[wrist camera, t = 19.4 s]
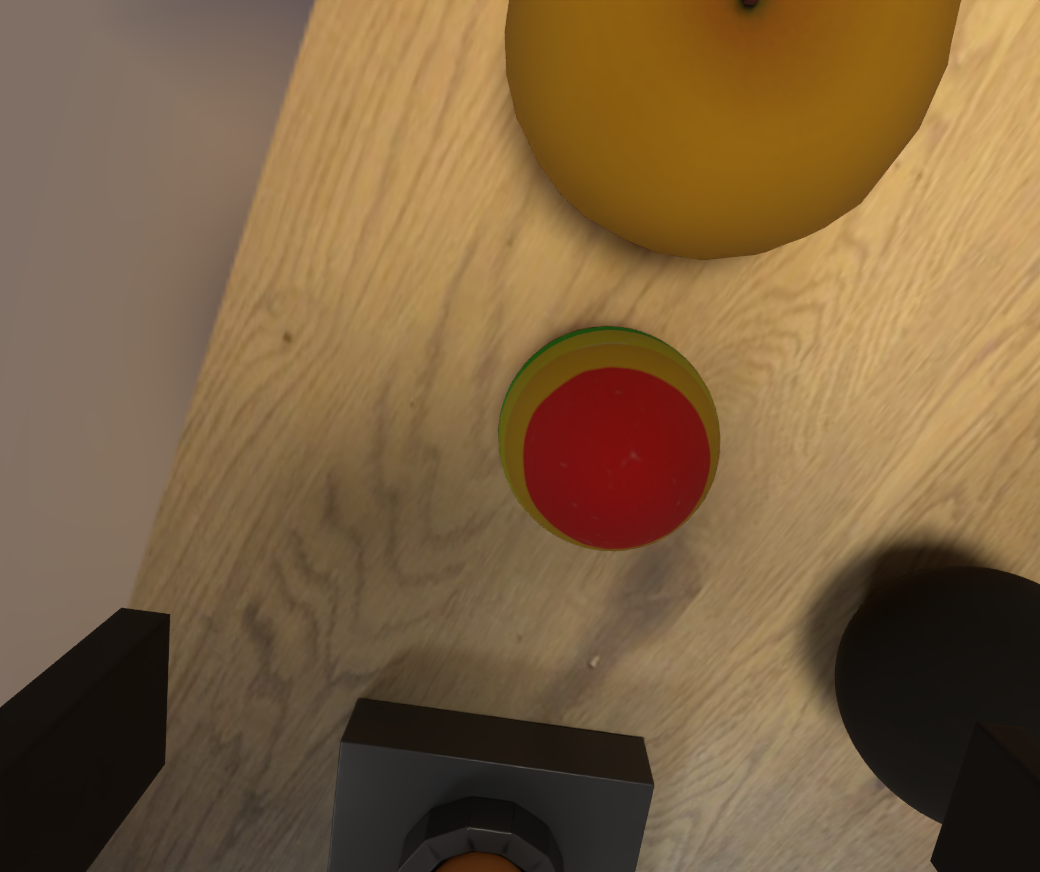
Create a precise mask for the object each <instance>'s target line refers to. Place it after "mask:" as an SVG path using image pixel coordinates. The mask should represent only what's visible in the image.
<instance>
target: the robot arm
mask: <svg viewBox="0 0 1040 872" xmlns="http://www.w3.org/2000/svg"><path fill="white" fill-rule="evenodd" d="M169 631H170V614H165V613H157V612H150V611H142V610H134V609H127V608H121V609H119V610H118V611H117V612H116V613H114V614H113V615H112V616H111V617H110V618H108V619H107V620H106V621H105V622H104V623H102V624H101V625H100V626H99V627H97V628H96V629H95V630H94V631H93V632H91V633H90V634H89V635H88V636H86V637H85V638H84V639H83V640H82V641H80V642H79V643H78V644H77V645H76V646H74V647H73V648H72V649H71V650H69V651H68V652H67V653H66V654H65V655H63V656H62V657H61V658H60V659H59V660H58V661H56V662H55V663H54V664H52V665H51V666H50V667H49V668H48V669H46V670H45V671H44V672H43V673H42V674H40V675H39V676H38V677H37V678H35V679H34V680H33V681H32V682H31V683H29V684H28V685H27V686H26V687H25V688H23V689H22V690H21V691H20V692H19V693H17V694H16V695H15V696H14V697H12V698H11V699H10V700H9V701H8V702H6V703H5V704H4V705H3V706H1V707H0V872H86V871H87V869H88V868H89V867H90V865H91V864H92V863H93V861H94V860H95V859H96V857H97V856H98V854H99V853H100V852H101V850H102V849H103V848H104V846H105V845H106V844H107V842H108V841H109V840H110V838H111V837H112V835H113V834H114V833H115V831H116V830H117V829H118V827H119V826H120V825H121V823H122V822H123V821H124V819H125V818H126V816H127V815H128V814H129V812H130V811H131V810H132V808H133V807H134V806H135V804H136V803H137V801H138V800H139V799H140V797H141V796H142V795H143V793H144V792H145V791H146V789H147V788H148V787H149V785H150V784H151V782H152V781H153V780H154V778H155V777H156V776H157V774H158V773H159V772H160V770H161V769H162V767H163V766H164V765H165V750H166V720H167V691H168V661H169ZM930 861H931V863H932V864H933V866H934V867H935V868H936V870H937V871H938V872H1040V743H1039V742H1038V741H1037V740H1036V739H1035V738H1034V737H1032V736H1031V735H1030V734H1029V733H1028V732H1027V731H1026V730H1025V729H1024V728H1022V727H1018V726H1010V725H1003V724H995V723H988V722H980V721H976V724H975V727H974V730H973V733H972V736H971V739H970V742H969V745H968V748H967V751H966V754H965V757H964V760H963V763H962V766H961V769H960V772H959V775H958V778H957V781H956V784H955V788H954V791H953V794H952V797H951V800H950V803H949V806H948V809H947V812H946V815H945V818H944V821H943V824H942V827H941V830H940V833H939V836H938V839H937V842H936V845H935V848H934V851H933V854H932V857H931V860H930Z"/></svg>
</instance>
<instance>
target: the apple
mask: <svg viewBox="0 0 1040 872" xmlns="http://www.w3.org/2000/svg"><path fill="white" fill-rule="evenodd" d="M960 2H961V0H509V5H508V12H507V19H506V26H505V50H506V73H507V79H508V83H509V87H510V92H511V96H512V100H513V104H514V109H515V113H516V117H517V120H518V122H519V124H520V126H521V128H522V130H523V132H524V134H525V136H526V138H527V141H528V143H529V145H530V147H531V149H532V151H533V153H534V155H535V157H536V159H537V161H538V163H539V164H540V166H541V167H542V169H543V170H544V171H545V173H546V174H547V176H548V177H549V178H550V180H551V181H552V183H553V184H554V185H555V187H556V188H557V190H558V191H559V192H560V194H561V195H562V196H563V197H564V198H565V199H567V200H568V201H569V202H570V203H571V204H572V205H573V206H574V207H575V208H576V209H578V210H579V211H580V212H581V213H582V214H583V215H584V216H585V217H587V218H588V219H590V220H592V221H594V222H595V223H597V224H599V225H601V226H603V227H604V228H606V229H608V230H610V231H612V232H613V233H615V234H617V235H619V236H620V237H622V238H624V239H626V240H628V241H631V242H633V243H635V244H638V245H640V246H642V247H645V248H647V249H649V250H652V251H654V252H657V253H662V254H668V255H674V256H680V257H686V258H692V259H698V260H708V259H718V258H728V257H738V256H748V255H756V254H760V253H763V252H767V251H769V250H772V249H774V248H777V247H779V246H781V245H784V244H787V243H790V242H792V241H795V240H798V239H801V238H804V237H806V236H808V235H810V234H812V233H814V232H816V231H818V230H820V229H823V228H825V227H826V226H828V225H829V224H831V223H832V222H834V221H835V220H837V219H838V218H840V217H841V216H843V215H844V214H846V213H847V212H849V211H850V210H852V209H853V208H855V207H856V206H858V205H859V204H861V202H862V201H863V200H864V199H865V197H866V196H867V195H868V194H869V192H870V191H871V190H872V189H873V187H874V186H875V185H876V184H877V182H878V181H879V180H880V179H881V177H882V176H883V175H884V173H885V172H886V171H887V170H888V168H889V167H890V166H891V164H892V163H893V162H894V161H895V159H896V158H897V157H898V155H899V154H900V153H901V152H902V150H903V149H904V148H905V146H906V145H907V144H908V142H909V141H910V140H911V139H912V137H913V136H914V135H915V133H916V132H917V131H918V130H919V128H920V126H921V124H922V121H923V119H924V117H925V114H926V112H927V110H928V108H929V105H930V103H931V101H932V99H933V96H934V94H935V92H936V90H937V87H938V85H939V83H940V81H941V78H942V76H943V74H944V72H945V69H946V67H947V65H948V59H949V53H950V47H951V42H952V38H953V33H954V29H955V25H956V20H957V16H958V11H959V7H960Z"/></svg>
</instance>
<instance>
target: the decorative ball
mask: <svg viewBox="0 0 1040 872" xmlns="http://www.w3.org/2000/svg"><path fill="white" fill-rule="evenodd" d="M835 689H836V696H837V702H838V706H839V710H840V714H841V717H842V720H843V722H844V725H845V728H846V730H847V732H848V734H849V736H850V738H851V740H852V742H853V744H854V746H855V748H856V749H857V751H858V752H859V754H860V755H861V757H862V758H863V760H864V761H865V763H866V764H867V765H868V766H869V768H870V769H871V770H872V771H873V773H874V774H875V775H876V776H877V777H878V778H879V779H880V780H881V781H882V782H883V783H884V784H885V785H886V786H887V787H888V788H889V789H890V790H891V791H892V792H893V793H895V794H896V795H897V796H898V797H899V798H900V799H902V800H903V801H904V802H906V803H907V804H908V805H910V806H911V807H913V808H914V809H916V810H917V811H919V812H920V813H922V814H924V815H926V816H927V817H929V818H931V819H933V820H935V821H937V822H939V823H941V824H943V821H944V818H945V815H946V812H947V809H948V806H949V803H950V800H951V797H952V794H953V791H954V788H955V784H956V781H957V778H958V775H959V772H960V769H961V766H962V763H963V760H964V757H965V754H966V751H967V748H968V745H969V742H970V739H971V736H972V733H973V730H974V727H975V724H976V721H980V722H988V723H995V724H1003V725H1010V726H1018V727H1022V728H1024V729H1025V730H1026V731H1027V732H1028V733H1029V734H1030V735H1031V736H1032V737H1034V738H1035V739H1036V740H1037V741H1038V742H1039V743H1040V584H1038V583H1036V582H1034V581H1031V580H1029V579H1026V578H1023V577H1020V576H1018V575H1015V574H1011V573H1008V572H1004V571H1000V570H996V569H990V568H984V567H977V566H944V567H935V568H930V569H925V570H921V571H917V572H914V573H911V574H908V575H905V576H903V577H901V578H898V579H896V580H894V581H892V582H890V583H889V584H887V585H886V586H884V587H882V588H881V589H879V590H878V591H877V592H875V593H874V594H873V595H872V596H871V597H869V598H868V599H867V600H866V601H865V602H864V603H863V604H862V606H861V607H860V608H859V609H858V610H857V612H856V613H855V614H854V616H853V617H852V619H851V620H850V622H849V623H848V625H847V627H846V629H845V632H844V634H843V636H842V639H841V642H840V645H839V649H838V653H837V658H836V665H835Z"/></svg>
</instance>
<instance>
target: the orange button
mask: <svg viewBox="0 0 1040 872" xmlns="http://www.w3.org/2000/svg"><path fill="white" fill-rule="evenodd" d="M436 872H521V871H520V869H519V868H518V867H517V866H516V865H515V864H513V863H512V862H511V861H509V860H508V859H506V858H504V857H502V856H500V855H497V854H494V853H486V852H479V851H474V852H466V853H463V854H460V855H456V856H454V857H452V858H450V859H448V860H447V861H445V862H444V863H443V864H442V865H441V866H440V867H439V868H438V869H437V870H436Z"/></svg>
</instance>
